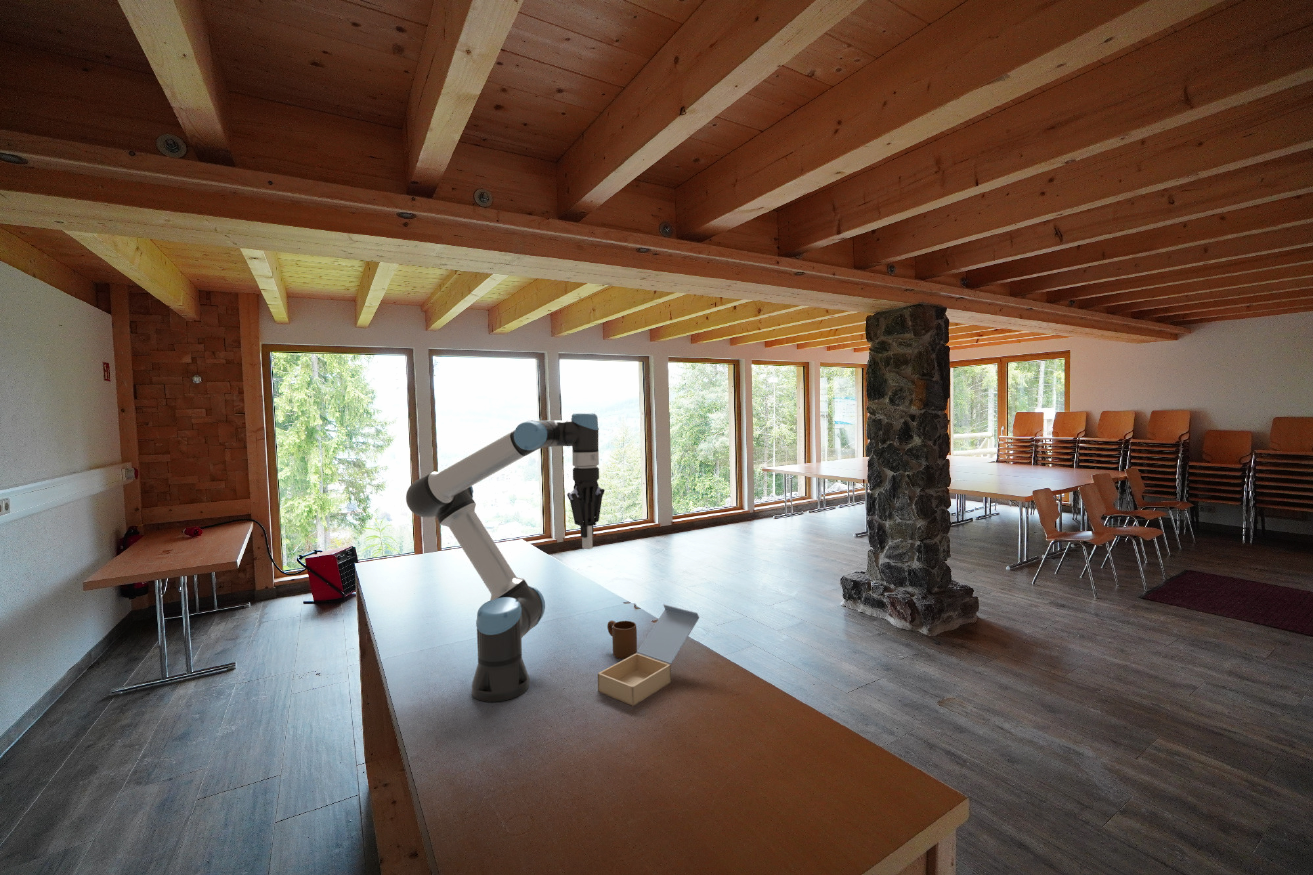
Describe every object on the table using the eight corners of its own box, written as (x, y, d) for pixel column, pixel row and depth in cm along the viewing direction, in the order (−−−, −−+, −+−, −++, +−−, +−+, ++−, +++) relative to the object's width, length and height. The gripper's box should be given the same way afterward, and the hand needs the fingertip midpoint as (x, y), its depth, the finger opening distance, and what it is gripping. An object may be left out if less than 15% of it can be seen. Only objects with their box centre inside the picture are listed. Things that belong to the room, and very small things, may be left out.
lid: (697, 612, 163) (699, 617, 164) (663, 604, 171) (666, 608, 172) (668, 659, 152) (671, 664, 153) (634, 647, 160) (637, 652, 161)
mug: (599, 650, 175) (598, 621, 175) (617, 643, 180) (617, 615, 180) (623, 662, 166) (622, 631, 166) (642, 654, 172) (641, 624, 171)
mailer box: (633, 706, 141) (632, 687, 141) (597, 691, 149) (597, 673, 149) (670, 682, 153) (670, 664, 153) (636, 669, 161) (636, 653, 161)
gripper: (578, 469, 151) (579, 554, 152) (611, 465, 161) (612, 545, 162) (559, 467, 156) (561, 550, 156) (592, 464, 166) (594, 542, 167)
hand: (587, 547), depth 159 cm, fingers closed
